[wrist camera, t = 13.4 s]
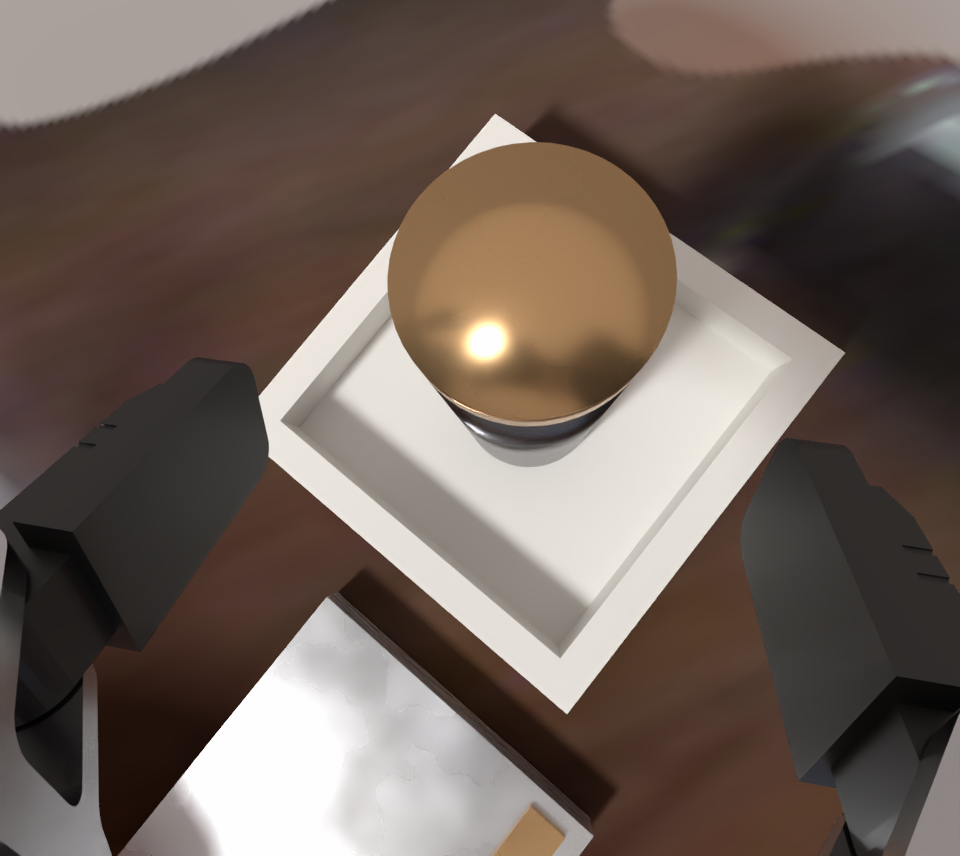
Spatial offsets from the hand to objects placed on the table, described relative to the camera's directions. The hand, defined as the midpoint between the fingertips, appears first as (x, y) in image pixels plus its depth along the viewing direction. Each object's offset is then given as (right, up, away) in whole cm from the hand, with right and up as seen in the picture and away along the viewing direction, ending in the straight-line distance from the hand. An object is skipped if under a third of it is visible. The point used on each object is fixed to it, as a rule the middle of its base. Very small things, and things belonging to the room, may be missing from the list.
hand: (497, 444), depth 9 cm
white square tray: (+1, +1, +10) cm, 10 cm away
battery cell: (+1, +1, +9) cm, 9 cm away
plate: (-4, -12, +8) cm, 15 cm away
